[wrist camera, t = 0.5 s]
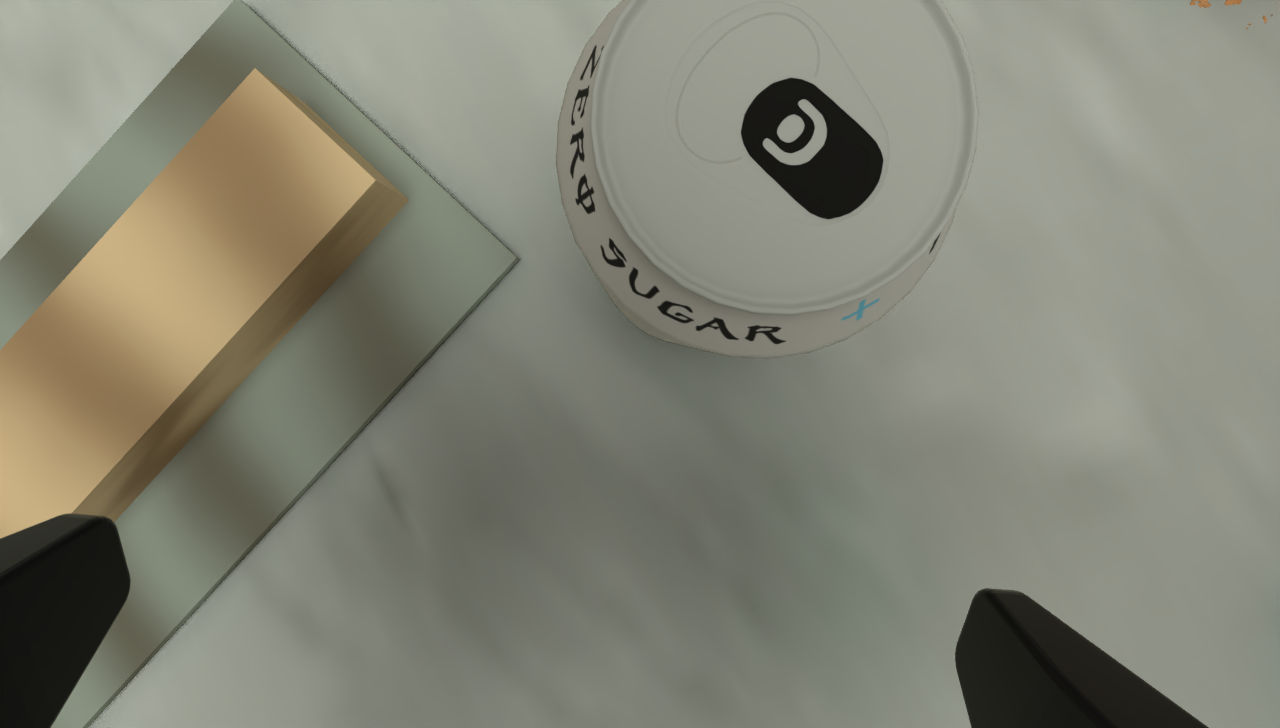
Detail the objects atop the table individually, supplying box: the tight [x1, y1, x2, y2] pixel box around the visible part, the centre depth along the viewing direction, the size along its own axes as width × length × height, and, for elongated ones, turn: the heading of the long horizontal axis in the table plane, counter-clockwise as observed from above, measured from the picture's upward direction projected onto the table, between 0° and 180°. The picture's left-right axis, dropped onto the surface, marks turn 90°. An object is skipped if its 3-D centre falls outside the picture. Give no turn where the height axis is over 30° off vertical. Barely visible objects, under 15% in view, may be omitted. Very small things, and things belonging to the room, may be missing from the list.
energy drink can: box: [556, 0, 979, 359], centre depth 16 cm, size 6×6×15 cm
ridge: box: [0, 0, 520, 728], centre depth 22 cm, size 22×12×4 cm, turn 137°
